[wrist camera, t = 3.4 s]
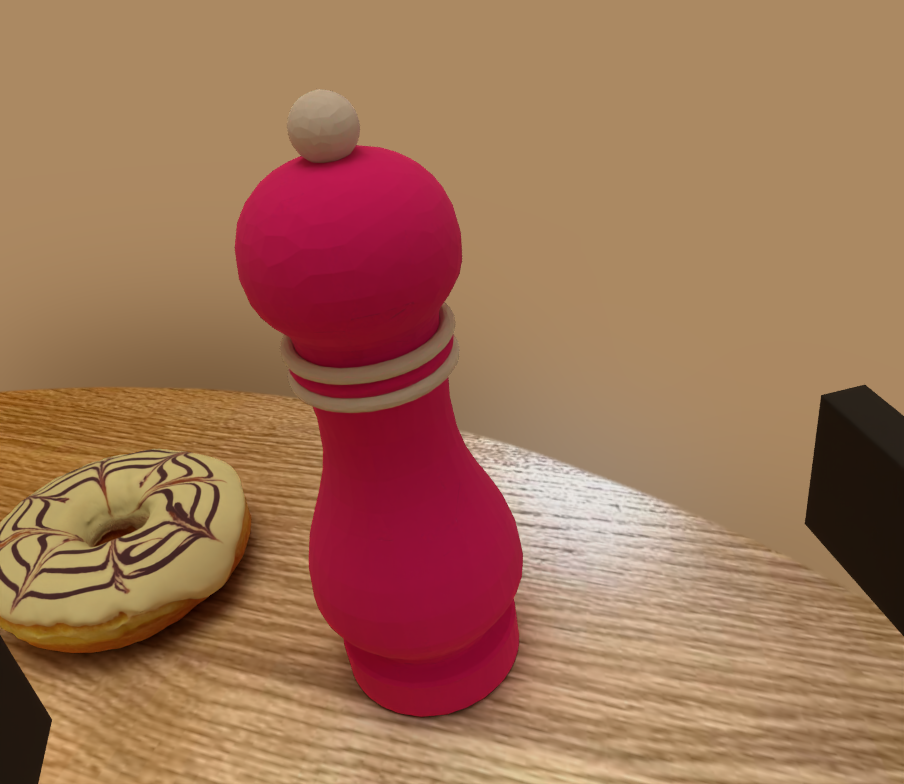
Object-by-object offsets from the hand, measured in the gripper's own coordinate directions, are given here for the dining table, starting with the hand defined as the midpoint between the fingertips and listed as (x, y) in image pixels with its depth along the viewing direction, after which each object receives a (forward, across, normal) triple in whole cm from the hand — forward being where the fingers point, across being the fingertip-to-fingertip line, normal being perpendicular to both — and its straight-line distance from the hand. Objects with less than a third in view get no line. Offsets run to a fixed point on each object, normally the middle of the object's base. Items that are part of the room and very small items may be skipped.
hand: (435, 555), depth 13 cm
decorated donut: (+20, -12, -16) cm, 28 cm away
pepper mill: (+12, 0, -15) cm, 19 cm away
